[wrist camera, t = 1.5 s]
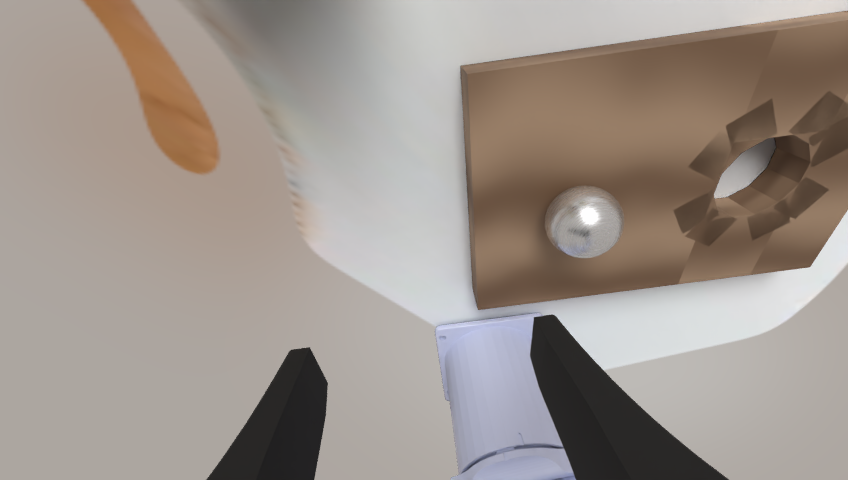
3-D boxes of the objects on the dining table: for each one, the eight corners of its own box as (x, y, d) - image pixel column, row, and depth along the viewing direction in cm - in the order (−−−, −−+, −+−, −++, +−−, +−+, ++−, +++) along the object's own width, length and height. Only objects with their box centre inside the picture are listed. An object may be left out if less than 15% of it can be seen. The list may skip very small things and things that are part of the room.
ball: (596, 227, 20) (631, 268, 17) (533, 236, 20) (556, 277, 17) (607, 169, 18) (649, 203, 15) (537, 178, 18) (564, 214, 15)
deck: (781, 248, 24) (809, 267, 22) (472, 288, 24) (478, 309, 23) (924, -1, 16) (985, 0, 14) (460, 65, 16) (467, 73, 15)
